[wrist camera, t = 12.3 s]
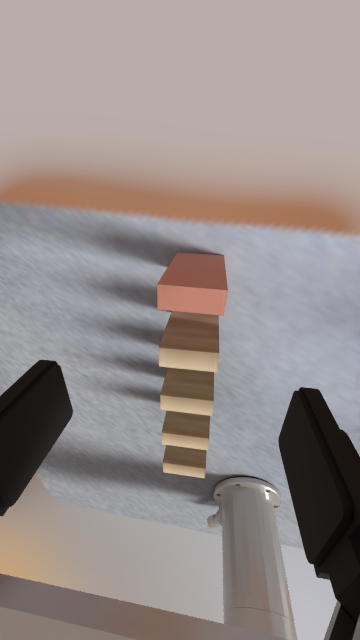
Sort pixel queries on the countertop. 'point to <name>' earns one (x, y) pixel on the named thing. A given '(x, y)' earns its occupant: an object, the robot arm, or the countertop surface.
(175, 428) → the domino
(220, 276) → the domino
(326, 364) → the countertop surface
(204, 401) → the domino
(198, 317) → the domino
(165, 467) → the domino
